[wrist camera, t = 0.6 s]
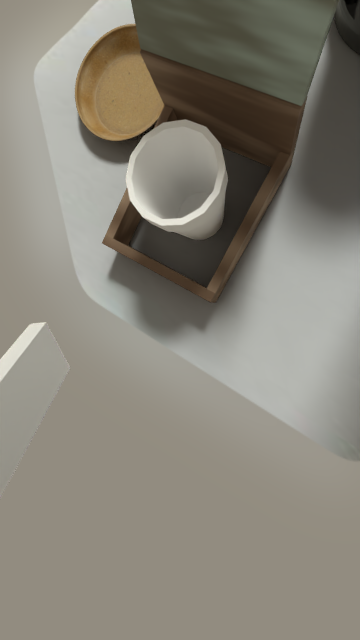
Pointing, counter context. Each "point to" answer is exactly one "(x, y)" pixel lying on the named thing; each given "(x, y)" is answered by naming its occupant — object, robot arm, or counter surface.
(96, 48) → the plant saucer
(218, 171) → the foam cup
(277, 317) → the counter surface
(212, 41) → the cold frame
